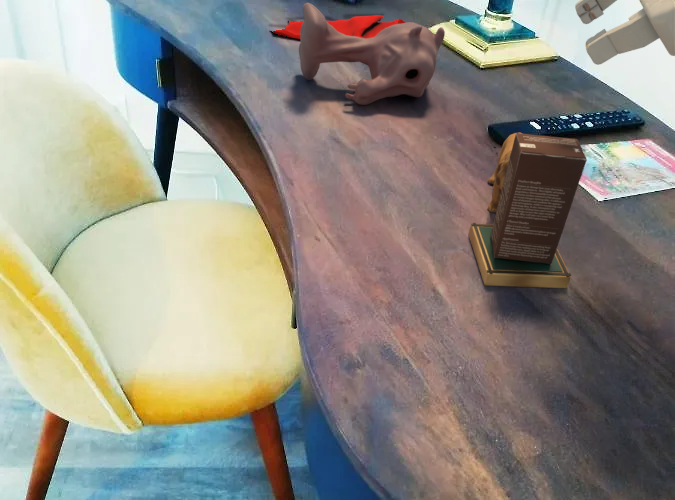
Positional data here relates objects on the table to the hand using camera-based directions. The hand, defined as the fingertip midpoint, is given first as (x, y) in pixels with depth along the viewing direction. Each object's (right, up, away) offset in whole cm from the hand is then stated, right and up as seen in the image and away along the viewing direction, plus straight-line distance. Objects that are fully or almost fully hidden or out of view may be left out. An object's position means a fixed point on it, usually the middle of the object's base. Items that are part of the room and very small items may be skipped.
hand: (583, 33), depth 54 cm
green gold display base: (-2, -19, +14) cm, 24 cm away
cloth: (-20, +21, +62) cm, 69 cm away
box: (-2, -18, +13) cm, 22 cm away
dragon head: (-16, +6, +44) cm, 47 cm away
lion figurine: (0, -12, +23) cm, 26 cm away
